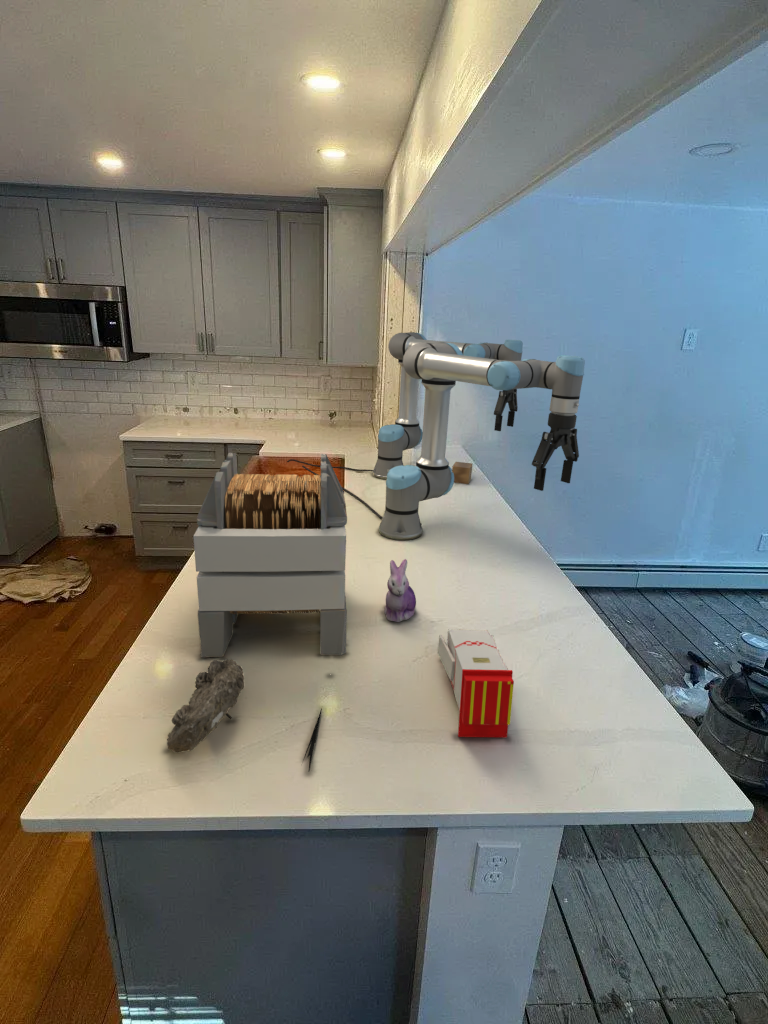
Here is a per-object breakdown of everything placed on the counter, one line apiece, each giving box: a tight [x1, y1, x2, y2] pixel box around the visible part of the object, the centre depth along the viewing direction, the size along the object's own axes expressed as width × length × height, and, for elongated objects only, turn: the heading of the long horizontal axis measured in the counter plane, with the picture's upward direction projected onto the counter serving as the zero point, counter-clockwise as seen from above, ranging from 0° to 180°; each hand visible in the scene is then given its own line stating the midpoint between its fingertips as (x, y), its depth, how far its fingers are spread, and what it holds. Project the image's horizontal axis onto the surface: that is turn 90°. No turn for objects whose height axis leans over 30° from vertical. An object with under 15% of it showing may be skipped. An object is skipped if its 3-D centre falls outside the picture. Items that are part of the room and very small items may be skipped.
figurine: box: [384, 558, 417, 623], centre depth 145 cm, size 9×10×15 cm
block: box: [451, 461, 473, 485], centre depth 265 cm, size 8×9×8 cm
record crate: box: [193, 452, 348, 659], centre depth 136 cm, size 34×33×41 cm
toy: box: [437, 628, 515, 738], centre depth 117 cm, size 12×13×30 cm
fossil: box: [166, 658, 245, 754], centre depth 106 cm, size 22×10×15 cm
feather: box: [301, 673, 332, 771], centre depth 108 cm, size 2×28×2 cm
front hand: (552, 485), depth 166 cm, fingers open, 13 cm apart
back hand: (503, 428), depth 245 cm, fingers open, 13 cm apart
